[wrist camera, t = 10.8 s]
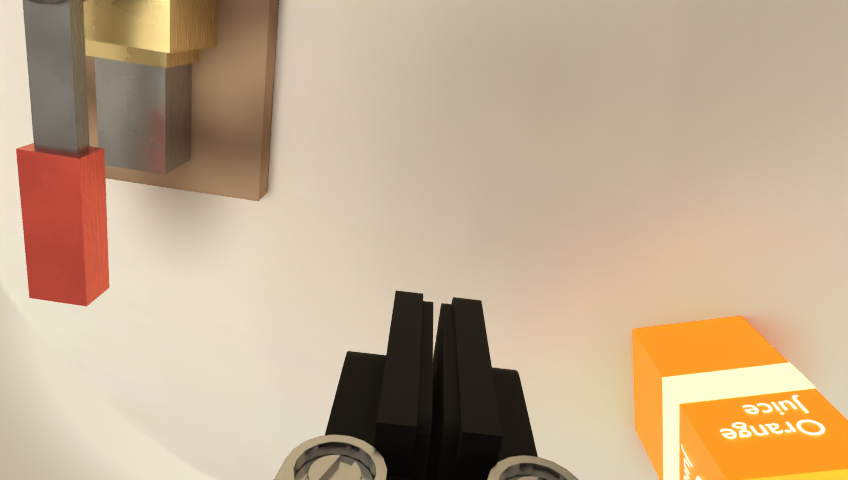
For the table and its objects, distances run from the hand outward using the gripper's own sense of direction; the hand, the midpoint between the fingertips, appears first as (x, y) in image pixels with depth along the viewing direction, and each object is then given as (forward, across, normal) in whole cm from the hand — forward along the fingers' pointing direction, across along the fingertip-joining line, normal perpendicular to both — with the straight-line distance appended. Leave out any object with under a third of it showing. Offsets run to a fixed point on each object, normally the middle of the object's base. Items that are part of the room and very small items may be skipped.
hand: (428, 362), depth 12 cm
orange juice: (+27, -20, +16) cm, 37 cm away
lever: (+16, +16, 0) cm, 23 cm away
